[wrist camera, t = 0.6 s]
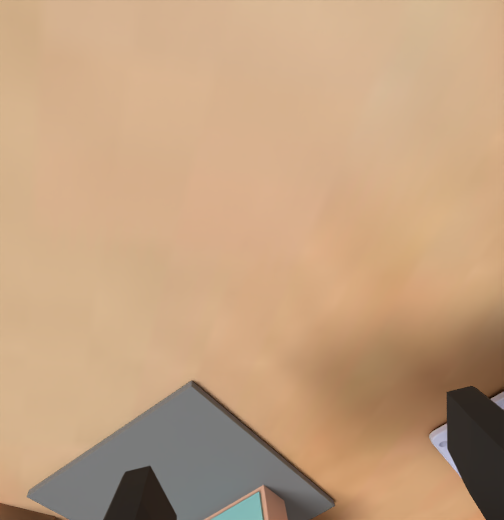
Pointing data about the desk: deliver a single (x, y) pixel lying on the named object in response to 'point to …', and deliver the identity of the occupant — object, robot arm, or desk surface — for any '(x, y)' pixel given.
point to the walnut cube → (21, 514)
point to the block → (254, 507)
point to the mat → (181, 464)
